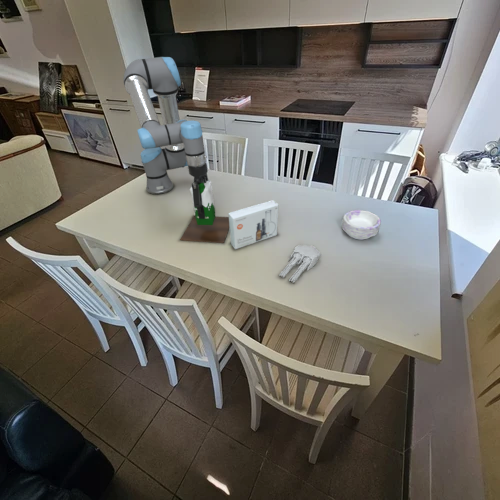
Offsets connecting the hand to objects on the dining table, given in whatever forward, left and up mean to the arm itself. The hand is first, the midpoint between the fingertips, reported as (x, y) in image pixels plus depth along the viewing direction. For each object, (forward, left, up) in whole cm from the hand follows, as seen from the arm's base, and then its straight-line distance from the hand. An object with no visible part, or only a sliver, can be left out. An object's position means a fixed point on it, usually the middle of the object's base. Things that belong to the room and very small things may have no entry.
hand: (205, 212), depth 125 cm
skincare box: (+6, +23, -9) cm, 25 cm away
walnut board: (0, 0, -9) cm, 9 cm away
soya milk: (0, 0, -5) cm, 5 cm away
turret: (+21, +43, -9) cm, 49 cm away
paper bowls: (-3, +68, -9) cm, 69 cm away
